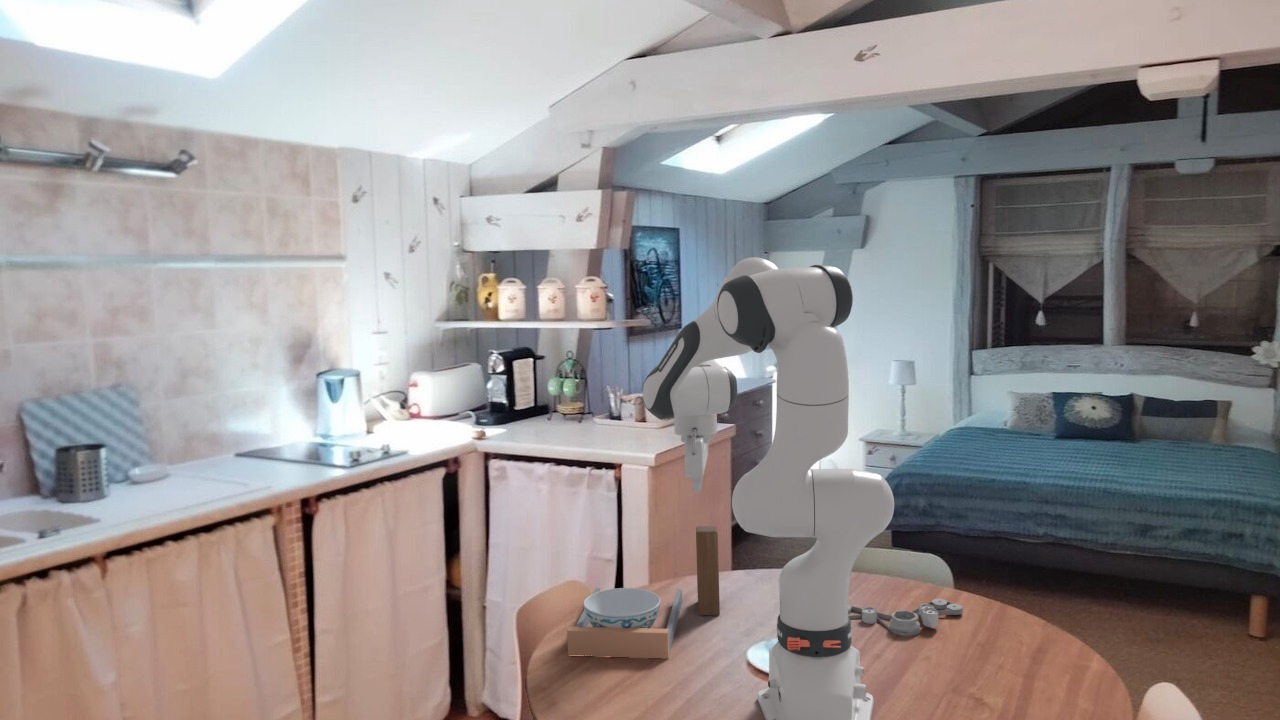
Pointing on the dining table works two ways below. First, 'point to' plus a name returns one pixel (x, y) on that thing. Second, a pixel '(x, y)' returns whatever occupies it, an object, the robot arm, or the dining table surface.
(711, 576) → the wooden block
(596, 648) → the wooden tray
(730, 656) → the dining table surface
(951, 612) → the pulley system
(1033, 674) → the dining table surface
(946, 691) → the dining table surface
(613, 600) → the chinaware
